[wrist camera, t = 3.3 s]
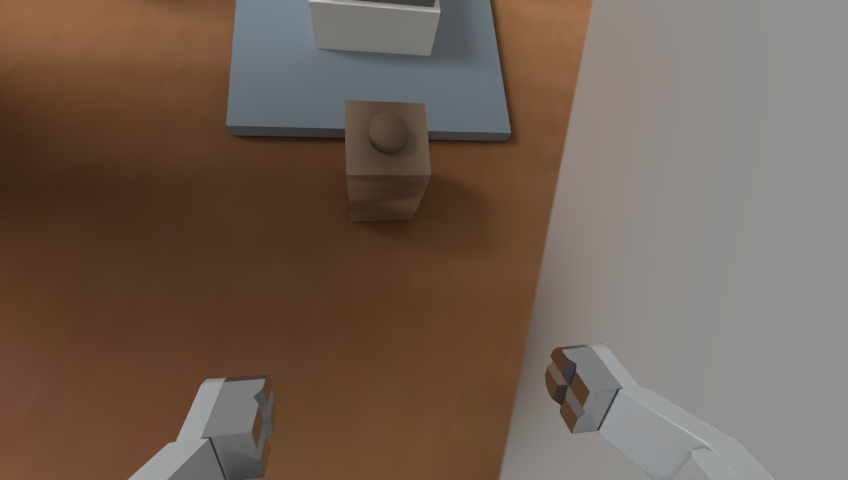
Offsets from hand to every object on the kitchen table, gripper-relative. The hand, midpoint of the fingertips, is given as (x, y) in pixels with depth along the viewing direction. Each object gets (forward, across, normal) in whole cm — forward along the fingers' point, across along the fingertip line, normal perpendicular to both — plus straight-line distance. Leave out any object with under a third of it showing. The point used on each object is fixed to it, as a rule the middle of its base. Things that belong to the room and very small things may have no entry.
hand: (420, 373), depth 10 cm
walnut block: (+18, 0, +2) cm, 18 cm away
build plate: (+28, 0, -8) cm, 29 cm away
